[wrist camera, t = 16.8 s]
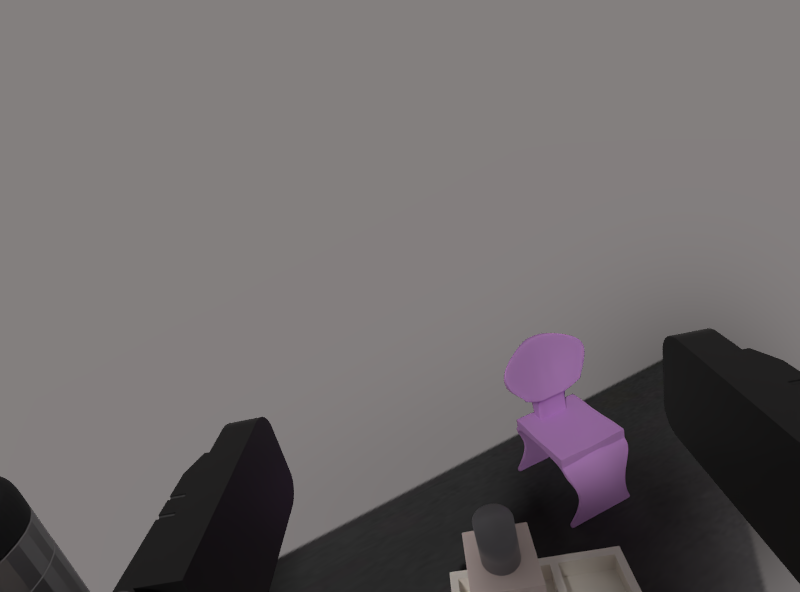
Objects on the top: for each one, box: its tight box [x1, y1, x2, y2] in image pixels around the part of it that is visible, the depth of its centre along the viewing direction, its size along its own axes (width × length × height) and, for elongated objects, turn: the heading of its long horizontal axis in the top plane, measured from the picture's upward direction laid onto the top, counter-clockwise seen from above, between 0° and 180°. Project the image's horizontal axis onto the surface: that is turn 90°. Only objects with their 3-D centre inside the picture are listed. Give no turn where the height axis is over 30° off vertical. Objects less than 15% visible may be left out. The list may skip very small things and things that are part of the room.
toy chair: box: [504, 333, 630, 528], centre depth 41 cm, size 8×9×15 cm
